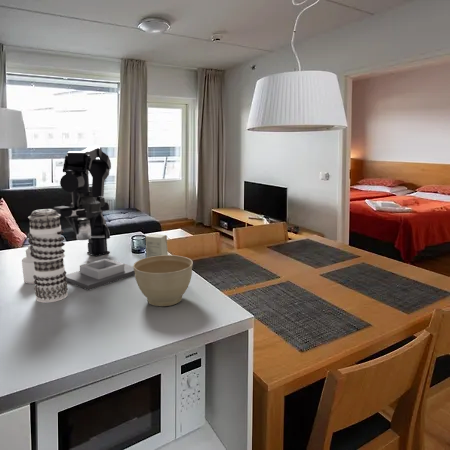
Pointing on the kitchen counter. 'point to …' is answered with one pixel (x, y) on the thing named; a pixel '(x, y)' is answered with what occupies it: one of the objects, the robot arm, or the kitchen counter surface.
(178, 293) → the planter bowl
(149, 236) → the skincare box
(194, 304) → the kitchen counter surface
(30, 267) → the eye dropper bottle
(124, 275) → the white tray on slab
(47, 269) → the white patterned cylinder
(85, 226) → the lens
